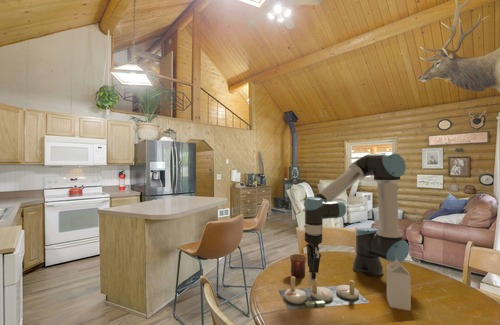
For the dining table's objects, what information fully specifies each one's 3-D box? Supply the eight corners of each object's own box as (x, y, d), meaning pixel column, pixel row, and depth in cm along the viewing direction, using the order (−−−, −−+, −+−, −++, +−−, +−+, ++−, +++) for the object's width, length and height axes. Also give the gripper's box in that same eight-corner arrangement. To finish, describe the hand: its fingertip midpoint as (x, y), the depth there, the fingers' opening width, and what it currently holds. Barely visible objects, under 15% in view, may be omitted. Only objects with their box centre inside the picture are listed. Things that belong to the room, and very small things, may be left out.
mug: (289, 272, 130) (289, 253, 130) (306, 274, 128) (306, 254, 129) (288, 282, 118) (289, 261, 119) (307, 284, 117) (307, 263, 117)
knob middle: (307, 291, 108) (307, 275, 108) (326, 289, 110) (326, 273, 110) (317, 302, 99) (317, 285, 99) (337, 300, 101) (337, 283, 101)
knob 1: (301, 291, 108) (301, 275, 108) (310, 303, 99) (310, 285, 99) (282, 292, 106) (282, 276, 106) (288, 304, 97) (288, 287, 97)
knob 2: (351, 287, 111) (351, 272, 111) (363, 298, 102) (363, 281, 102) (332, 289, 110) (332, 273, 110) (343, 300, 101) (343, 283, 101)
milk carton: (405, 304, 101) (405, 258, 101) (410, 313, 94) (410, 265, 95) (386, 300, 103) (386, 256, 104) (390, 310, 97) (390, 262, 97)
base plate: (349, 287, 114) (349, 282, 114) (369, 305, 100) (369, 299, 100) (278, 292, 109) (278, 287, 109) (288, 312, 94) (288, 306, 94)
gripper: (301, 228, 112) (300, 278, 113) (309, 237, 100) (308, 293, 100) (316, 228, 113) (316, 278, 113) (327, 237, 100) (326, 293, 100)
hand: (312, 285), depth 106 cm, fingers closed
